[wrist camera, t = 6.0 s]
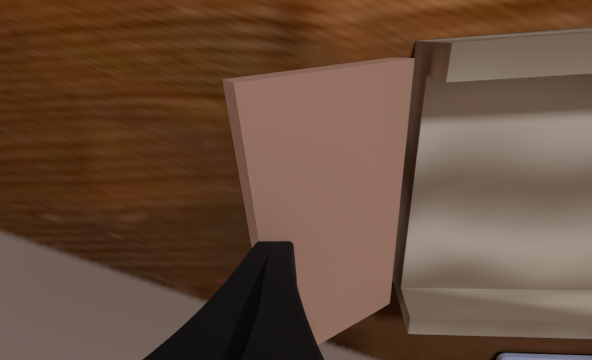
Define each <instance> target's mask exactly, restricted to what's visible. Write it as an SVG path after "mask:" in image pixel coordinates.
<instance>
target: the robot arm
mask: <svg viewBox="0 0 592 360" xmlns="http://www.w3.org/2000/svg"><path fill="white" fill-rule="evenodd" d="M143 360H324V358H323V356H322V354H321V352H320V350H319V347H318V345H317V343H316V340H315V338H314V335H313V333H312V330H311V328H310V325H309V322H308V320H307V317H306V314H305V311H304V308H303V304H302V301H301V298H300V294H299V291H298V287H297V276H296V265H295V255H294V244H293V243H292V242H291V241H258V242H257V243H256V244H255V245H254V246H253V247H252V249H251V250H250V251H249V253H248V254H247V255H246V257H245V258H244V259H243V261H242V262H241V263H240V265H239V266H238V267H237V268H236V270H235V271H234V272H233V273H232V274H231V276H230V277H229V278H228V279H227V280H226V282H225V283H224V284H223V285H222V286H221V287H220V289H219V290H218V291H217V292H216V293H215V294H214V295H213V296H212V297H211V298H210V299H209V301H208V302H207V303H206V304H205V305H204V306H203V307H202V308H201V309H200V310H199V311H198V312H197V313H196V314H195V315H194V316H193V317H192V318H191V319H190V320H189V321H188V322H186V323H185V324H184V325H183V326H182V327H181V328H180V329H179V330H178V331H177V332H176V333H174V334H173V335H172V336H171V337H170V338H169V339H167V340H166V341H165V342H164V343H163V344H161V345H160V346H159V347H158V348H157V349H155V350H154V351H153V352H152V353H151V354H149V355H148V356H147V357H145V358H144V359H143ZM496 360H592V356H587V355H557V354H527V353H501V354H499V355H498V356H497V359H496Z"/></svg>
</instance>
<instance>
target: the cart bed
mask: <svg viewBox="0 0 592 360" xmlns="http://www.w3.org/2000/svg"><path fill="white" fill-rule="evenodd" d="M414 58H415V61H414V71H413V80H412V90H411V100H410V110H409V120H408V129H407V139H406V149H405V159H404V169H403V178H402V188H401V198H400V208H399V218H398V227H397V237H396V247H395V257H394V267H393V277H392V280H393V283H394V287H395V290H396V294H397V297H398V301H399V304H400V308H401V311H402V315H403V318H404V322H405V325H406V329H407V332H408V334H432V335H469V336H505V337H542V338H579V339H592V27H591V28H578V29H565V30H552V31H539V32H526V33H512V34H499V35H486V36H473V37H460V38H446V39H433V40H420V41H416V43H415V53H414Z"/></svg>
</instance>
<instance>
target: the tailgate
mask: <svg viewBox="0 0 592 360" xmlns="http://www.w3.org/2000/svg"><path fill="white" fill-rule="evenodd" d="M414 61H415V58H384V59H377V60H369V61H361V62H353V63H346V64H338V65H330V66H323V67H315V68H307V69H300V70H292V71H284V72H277V73H269V74H261V75H254V76H246V77H238V78H231V79H223V80H222V81H223V86H224V92H225V98H226V103H227V109H228V115H229V120H230V126H231V132H232V137H233V143H234V149H235V154H236V160H237V166H238V171H239V177H240V183H241V188H242V194H243V200H244V205H245V211H246V217H247V222H248V228H249V234H250V239H251V245H252V247H253V246H254V245H255V244H256V243H257V242H258V241H291V242H292V243H293V244H294V255H295V265H296V276H297V287H298V291H299V294H300V298H301V301H302V304H303V308H304V311H305V314H306V317H307V320H308V322H309V325H310V328H311V330H312V333H313V335H314V338H315V340H316V343H317V345H319V344H321V343H322V342H324V341H326V340H328V339H329V338H331V337H333V336H335V335H336V334H338V333H340V332H341V331H343V330H345V329H347V328H348V327H350V326H352V325H354V324H355V323H357V322H359V321H361V320H362V319H364V318H366V317H367V316H369V315H371V314H373V313H374V312H376V311H378V310H380V309H381V308H383V307H385V306H387V305H388V304H390V296H391V286H392V277H393V267H394V257H395V247H396V237H397V227H398V218H399V208H400V198H401V188H402V178H403V169H404V159H405V149H406V139H407V129H408V120H409V110H410V100H411V90H412V80H413V71H414Z"/></svg>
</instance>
